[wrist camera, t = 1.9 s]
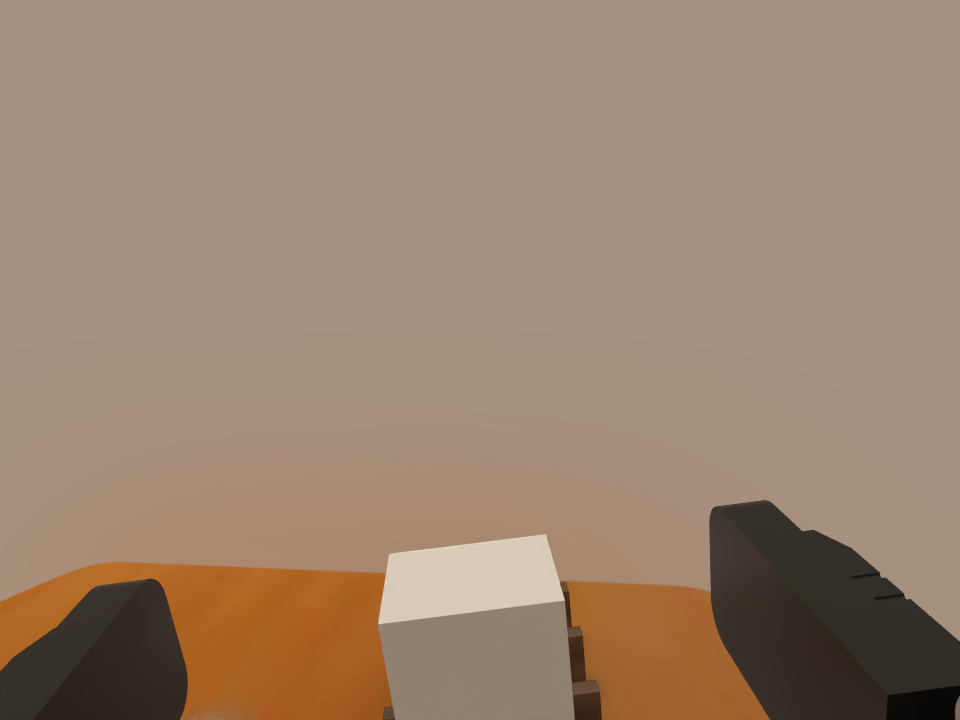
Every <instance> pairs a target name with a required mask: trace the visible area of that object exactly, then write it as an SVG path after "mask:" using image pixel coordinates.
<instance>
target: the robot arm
mask: <svg viewBox="0 0 960 720" xmlns="http://www.w3.org/2000/svg"><path fill="white" fill-rule="evenodd" d="M709 527H710V573H711V603H712V610H713V615H714V620H715V623H716V627H717V630H718V633H719V635H720V638H721V640H722V642H723V644H724V646H725V648H726V649H727V651H728V652H729V654H730V656H731V657H732V659H733V661H734V662H735V664H736V665H737V667H738V669H739V670H740V672H741V673H742V675H743V677H744V678H745V680H746V681H747V683H748V685H749V686H750V688H751V689H752V691H753V693H754V694H755V696H756V698H757V699H758V701H759V702H760V704H761V706H762V707H763V709H764V710H765V712H766V714H767V715H768V717H769V718H770V720H960V641H958V640H957V639H956V638H955V637H954V636H953V635H952V634H950V633H949V632H948V631H947V630H946V629H945V628H943V627H942V626H941V625H940V624H939V623H938V622H936V621H935V620H934V619H933V618H932V617H931V616H929V615H928V614H927V613H926V612H925V611H924V610H923V609H921V608H920V607H919V606H918V605H917V604H915V603H914V602H913V601H912V600H911V599H908V600H906V598H905V596H904V593H903V592H902V591H900V590H899V589H898V588H897V587H896V586H895V585H894V584H892V583H891V582H890V581H889V580H888V579H887V578H881V576H880V572H878V571H877V570H876V569H875V568H874V567H873V566H871V565H870V564H869V563H868V562H867V561H866V560H865V559H863V558H862V557H861V556H860V555H859V554H858V553H856V552H855V551H854V550H853V549H852V548H850V547H848V546H845V545H844V544H841V543H840V542H838V541H836V540H833V539H831V538H829V537H827V536H825V535H823V534H821V533H819V532H817V531H815V530H809V531H801V530H800V529H799V528H798V527H797V526H796V525H795V524H794V523H793V522H792V521H791V520H790V519H789V518H787V517H786V516H785V515H784V514H783V513H782V512H781V511H780V510H779V509H778V508H777V507H776V506H775V505H774V504H772V503H771V502H769V501H767V500H763V501H755V502H748V503H739V504H732V505H724V506H716V507H714V508H713V509H712V511H711V515H710V523H709ZM187 688H188V678H187V670H186V665H185V662H184V658H183V655H182V651H181V648H180V644H179V640H178V637H177V633H176V630H175V626H174V623H173V619H172V616H171V612H170V609H169V605H168V601H167V598H166V595H165V592H164V589H163V587H162V586H161V584H160V583H159V582H158V581H157V580H154V579H146V580H138V581H131V582H123V583H115V584H107V585H100V586H97V587H95V588H93V589H92V590H90V591H89V592H88V593H87V594H86V596H85V597H84V598H83V599H82V600H81V601H80V602H79V603H78V604H77V605H76V607H75V608H74V609H73V610H72V611H71V612H70V613H69V614H68V615H67V616H66V617H65V619H64V620H63V621H62V622H61V623H60V624H59V625H58V626H57V627H56V628H54V629H53V630H51V631H50V632H48V633H47V634H46V635H44V636H43V637H41V638H40V639H39V640H37V641H36V642H34V643H33V644H32V645H30V646H29V647H27V648H26V649H25V650H23V651H22V652H20V653H19V654H17V655H16V656H15V657H13V658H12V659H11V660H10V662H9V663H8V664H7V665H6V666H5V667H4V668H3V669H2V670H1V671H0V720H180V718H181V716H182V713H183V710H184V707H185V703H186V697H187Z"/></svg>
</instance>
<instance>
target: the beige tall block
mask: <svg viewBox="0 0 960 720" xmlns="http://www.w3.org/2000/svg"><path fill="white" fill-rule="evenodd" d="M378 626H379V632H380V637H381V643H382V649H383V654H384V660H385V665H386V671H387V677H388V682H389V688H390V694H391V699H392V705H393V710H394V716H395V720H575V716H574V704H573V692H572V680H571V668H570V656H569V644H568V632H567V621H566V609H565V599H564V596H563V593H562V589H561V586H560V582H559V579H558V576H557V572H556V569H555V565H554V562H553V558H552V555H551V552H550V548H549V545H548V542H547V538H546V535H545V534H544V535H537V536H529V537H521V538H513V539H504V540H496V541H488V542H481V543H472V544H465V545H456V546H449V547H440V548H433V549H425V550H417V551H409V552H401V553H393V554H389V560H388V566H387V572H386V578H385V584H384V591H383V597H382V603H381V610H380V616H379V622H378Z"/></svg>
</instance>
